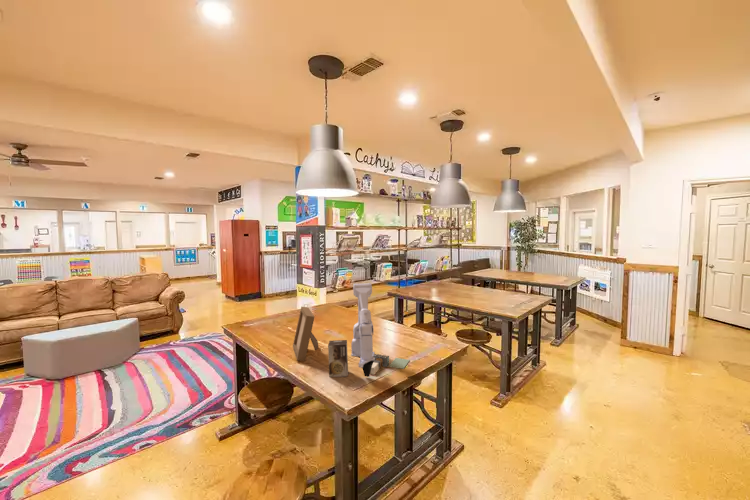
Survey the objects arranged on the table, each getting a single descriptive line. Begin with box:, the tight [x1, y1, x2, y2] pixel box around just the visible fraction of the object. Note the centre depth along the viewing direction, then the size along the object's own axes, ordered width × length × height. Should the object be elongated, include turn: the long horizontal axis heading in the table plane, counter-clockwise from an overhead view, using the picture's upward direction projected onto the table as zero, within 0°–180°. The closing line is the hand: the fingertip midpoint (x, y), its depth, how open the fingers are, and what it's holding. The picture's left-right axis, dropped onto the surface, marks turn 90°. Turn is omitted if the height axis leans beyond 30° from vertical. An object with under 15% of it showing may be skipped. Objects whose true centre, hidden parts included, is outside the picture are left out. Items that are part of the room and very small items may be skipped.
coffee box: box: [327, 339, 349, 378], centre depth 156 cm, size 9×6×16 cm
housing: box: [373, 353, 390, 368], centre depth 166 cm, size 10×3×5 cm, turn 67°
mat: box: [388, 357, 410, 370], centre depth 167 cm, size 8×11×1 cm
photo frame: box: [292, 306, 319, 362], centre depth 183 cm, size 15×22×25 cm
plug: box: [370, 359, 381, 376], centre depth 159 cm, size 4×8×4 cm, turn 158°
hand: (367, 375), depth 151 cm, fingers closed
